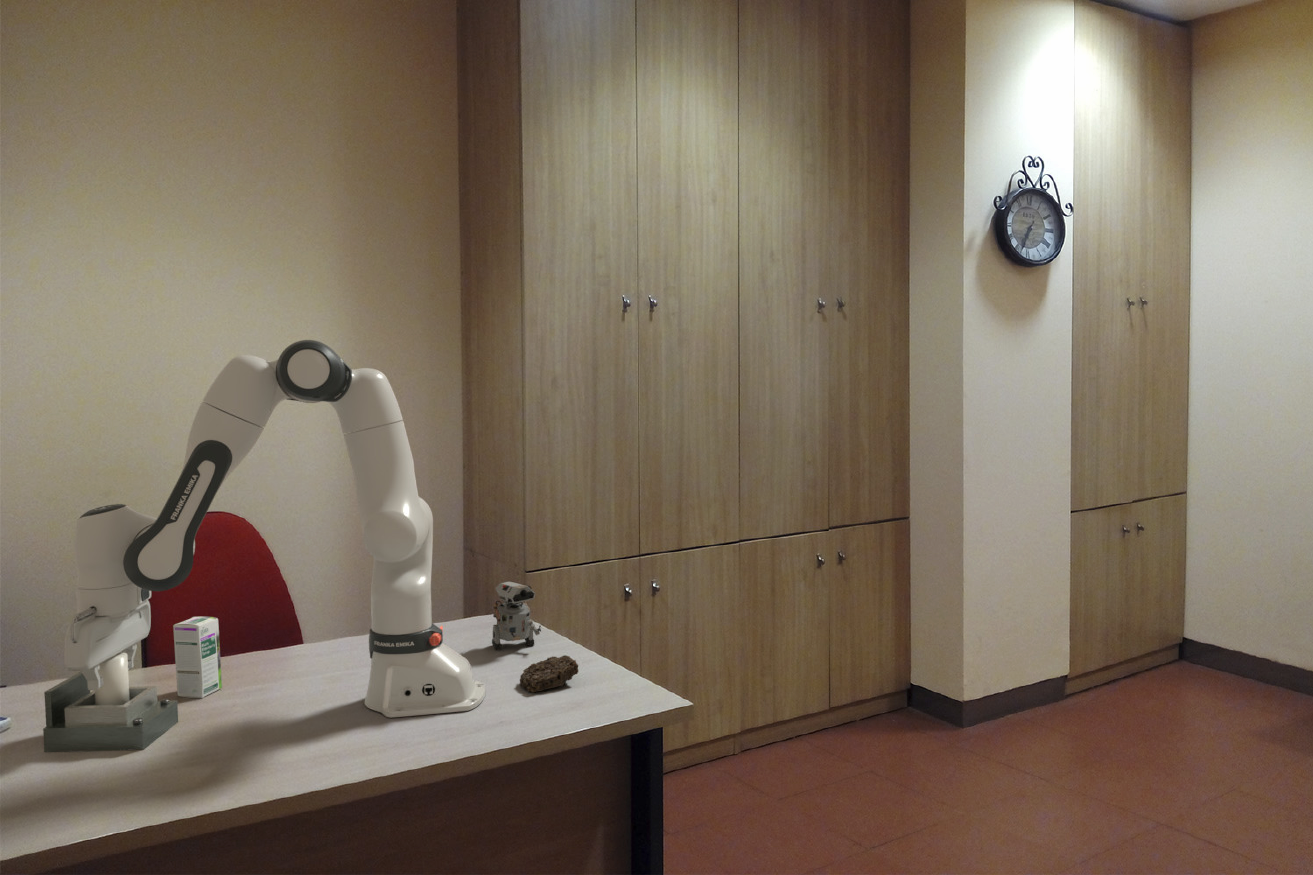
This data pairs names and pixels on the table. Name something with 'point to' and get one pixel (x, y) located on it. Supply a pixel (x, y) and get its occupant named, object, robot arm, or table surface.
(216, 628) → the syrup box
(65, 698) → the bolted metal fixture
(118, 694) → the white rounded piece
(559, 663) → the brown porous lump
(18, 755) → the table surface
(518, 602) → the figurine
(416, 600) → the robot arm
